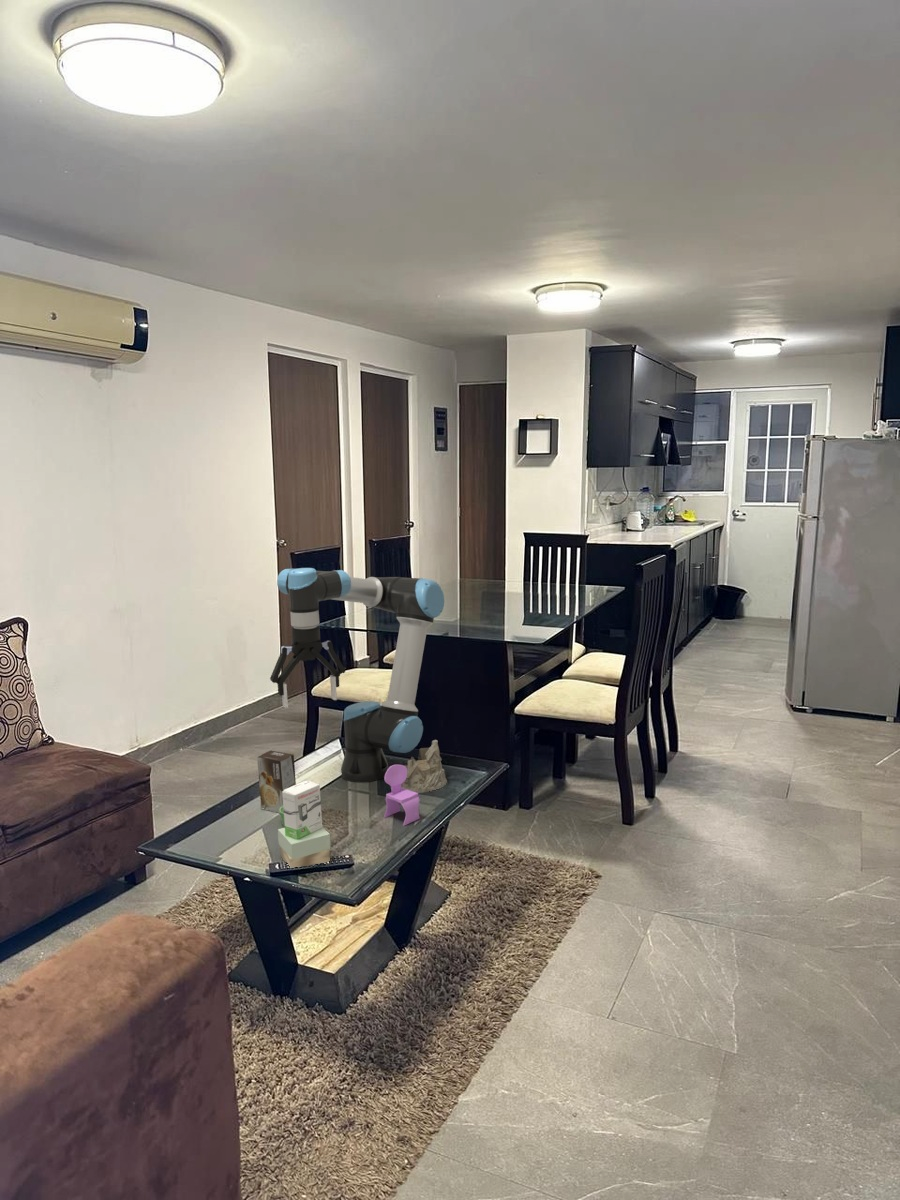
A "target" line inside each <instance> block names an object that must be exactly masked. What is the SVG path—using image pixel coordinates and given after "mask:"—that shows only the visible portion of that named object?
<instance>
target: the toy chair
mask: <svg viewBox="0 0 900 1200" xmlns="http://www.w3.org/2000/svg"><path fill="white" fill-rule="evenodd" d="M406 777H407V768H406V767H405V765H403V764H393V765H390V766H388V770H387V772H386V774H385V777H383V778H384V782H385V783H386V784H387V785H389V787H390V789H391V792H388V793H386V794H385V796H386V797H385V803H386V810H385V812H384V815H383V816H382V817H383V819H386V818H387V817H390V816H392V815H394V814H397V813H399V812H401V806H402V808H403V810H404V812H405V813H404V814H405V818H404V821H403V823H402V826H403V827H404V826H406V825H410V824H411V823H413V822H415V821H417V820H419V819H421V818H420V813H419V806H420V797H419V793H416V792H413V791H410V790H408V789H405V788H401V784H402V783H403V782H404V781H405V780H406ZM400 804H401V806H400Z"/></svg>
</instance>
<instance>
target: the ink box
mask: <svg viewBox="0 0 900 1200" xmlns="http://www.w3.org/2000/svg"><path fill="white" fill-rule="evenodd" d="M282 796H283V809H284V823H285V826H284V828H285V835H286V836H289V837H292V838H295V839H300V838H302V837H304V836H306V835H308V834H310V833H312V832H314V831H316V830H318V829H320V828H322V827H323V820H322V819H323V818H322V817H323V816H322V803H321V802H322V801H321V799H322V798H321V785H320V784H319V783H315V782H313V781H309V780H304V781H301V782H299V783H296V785H294V786H292V787H289V788H287V789H285V790H284V791H282Z"/></svg>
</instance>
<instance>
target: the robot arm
mask: <svg viewBox="0 0 900 1200" xmlns="http://www.w3.org/2000/svg"><path fill="white" fill-rule="evenodd" d="M276 582H277V583H276V585H277V588H278V590H279V591H280V592H281V593H282V594H284V595H288V598H289V610H290V612H289V613H290V625H291V630H290V631H291V646H285V645H281V646H280V648H279V649H280V650H279V656H278V658H277V660H276V663H275V665H274V668H273V671H272V672H271V675H270V678H269V680H270V681H271V682H272V683H273V684H277V694H278V695H279V696H280V697H281V699H282V700H281V701H282V706H283V707H284V708H285V709H288V708H289V705H288V702H289V701H288V690H287V689H288V687H287V686H288V685H287V683H286V682H285V681H286V680H287V678H288V677H289V676H290V674H291V673H292V671H294V669H295V668H296V666H297V665H298V664H299V662H300V661H301V662H307V661H315V659H317V660H319V662H321V664H322V665H323V666H324V667H326V668H327V670H328V671H330V672H331V674H330V675H329V681H330V682H329V683H330V698H331V700H333V701H338V698H337V697H338V696H337V695H338V694H337V688H339V687H340V676H341V674H345V673H346V669H345V666H343V663H342V662H341V660H340V659H339V657H338V655H337V653H336V652H335V650H334V645H333V643H332V641H331V640H328V639H327V640H325V641H324V642H322V641H321V631H320V630H321V629H320V626H319V624H320V614H319V613H320V612H319V609H320V608H319V602H322V601H327V600H332V601H333V600H334V601H342V602H343V601H344V602H350V603H359V604H363V605H364V606H365V607H368V608H375V609H378V610H383V611H386V612H390V613H394V614H396V620H397V621H398V622H399V630H398V636H397V642H396V647H395V653H394V659H393V664H392V670H391V676H390V682H389V688H388V695H387V699H386V700H385V701H384V702H382V703H381V704H380V702H378V701H373V700H370V701H361V702H357V703H356V702H355V703H353V704H350V705H348V706H346V707H345V708H344V711H343V729H344V730H343V731H344V742H345V745H344V746H345V751H344V752H345V754H344V757H343V760H342V764H341V768H340V773H341V774H340V775H341V777H342V779H344V780H346V781H349V782H354V783H366V782H374V781H377V780H381V779H382V778H384V777H385V774H386V772H387V770H388V768H389V764H388V760H387V758H386V756H385V752H384V751H383V750H387V751H391V752H393V753H401V754H407V753H410V752H412V751H413V750H414V749H415V748H416V747H417V746H418V744H419V743H420V741H421V739H422V736H423V732H424V725H423V722H422V720H421V719H420V717H419V716H418V715H419V709H418V708H417V707H416V705H415V703H416V697H417V692H418V691H417V690H418V687H419V686H418V684H419V680H420V674H421V673H420V672H421V667H422V663H423V656H424V655H423V654H424V650H425V643H426V637H427V632H428V629H429V628H430V627H431V626H433V624H434V620H435V619H436V618H438V617H439V616H441V613H442V612H443V610H444V606H445V595H444V592H443V589H442V587H441V586H440V584H439V582H437V581H434V580H432V579H427V578H422V577H419V578H418V577H403V576H402V577H401V576H385V577H377V576H376V577H375V576H369V577H367V578H360V577H356V576H355V577H354V576H350V575H349V574H348V573H347V571H345V570H342V569H339V570H338V569H337V570H335V569H333V570H331V571H330V570H329V571H325V570H316V569H315V568H313V567H300V568H293V567H292V568H285V569H283V570H281V571H280V572H279V573H278V575H277V581H276ZM323 648H324V650H326V651H327V653H328V655H329V656H330V658H331V660H332V661H333V663H334V664H335V667H336V668H337V669H336V668H335V667H334V666H332V664H331V663H330V662H329V661H328V660H327V659H326V658H325V657H324V656H323V655H322V654H321V651H322V649H323ZM291 652H292V654H293V655H292V656H291V658H290V660H289V662H288V663H287V664H286V666H285V668H284V669H283V667H284V664H285V662H286V659H287V657H288V655H289V654H290V653H291ZM282 669H283V670H282ZM281 671H282V672H281Z"/></svg>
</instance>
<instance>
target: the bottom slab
mask: <svg viewBox="0 0 900 1200" xmlns="http://www.w3.org/2000/svg"><path fill="white" fill-rule="evenodd" d="M330 850H331V849H329V850H325V851H322V852H318V853H315V854H311V855H308V856H304V857H300V858H297V859H293V860H292V859H291V858H290V856H289V855H288V854H287V853H286V852H285V851H284V850H283V848H282V847H281V846H280V856H281V859H282V860H283V862H284V861H285V862H287V863H288V865H289V866H290V868H294V867H301V866H309V865H315V864H320V863H325V862H329V861H330V862H331V856H330V855H331V853H330ZM285 862H284V863H285Z"/></svg>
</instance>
